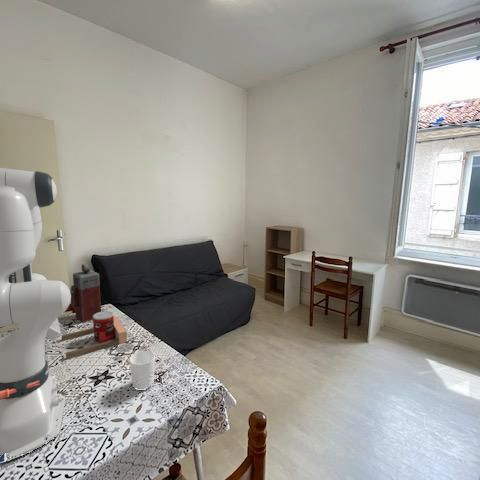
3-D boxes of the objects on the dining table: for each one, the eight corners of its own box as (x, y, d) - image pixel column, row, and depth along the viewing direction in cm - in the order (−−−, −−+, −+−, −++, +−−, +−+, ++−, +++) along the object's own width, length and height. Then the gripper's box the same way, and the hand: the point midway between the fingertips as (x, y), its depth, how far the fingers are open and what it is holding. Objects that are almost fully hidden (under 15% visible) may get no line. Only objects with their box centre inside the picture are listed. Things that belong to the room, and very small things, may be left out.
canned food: (95, 335, 120) (93, 312, 119) (114, 332, 124) (113, 309, 122) (93, 344, 114) (91, 319, 112) (114, 340, 117) (113, 316, 115)
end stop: (126, 342, 116) (126, 331, 115) (119, 344, 114) (118, 333, 113) (116, 325, 130) (115, 315, 129) (109, 327, 128) (108, 317, 127)
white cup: (129, 394, 86) (128, 366, 84) (132, 378, 94) (131, 352, 92) (155, 390, 88) (154, 362, 86) (155, 374, 96) (155, 349, 94)
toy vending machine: (70, 318, 135) (66, 264, 131) (94, 311, 144) (90, 260, 139) (78, 324, 130) (73, 268, 125) (101, 316, 138) (98, 264, 134)
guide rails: (119, 344, 114) (119, 339, 114) (66, 359, 103) (66, 354, 102) (109, 327, 128) (109, 323, 127) (61, 339, 116) (61, 335, 116)
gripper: (41, 318, 94) (75, 336, 102) (39, 300, 110) (69, 316, 118) (26, 334, 92) (62, 351, 100) (26, 313, 108) (58, 328, 116)
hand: (66, 332), depth 109 cm, fingers closed
